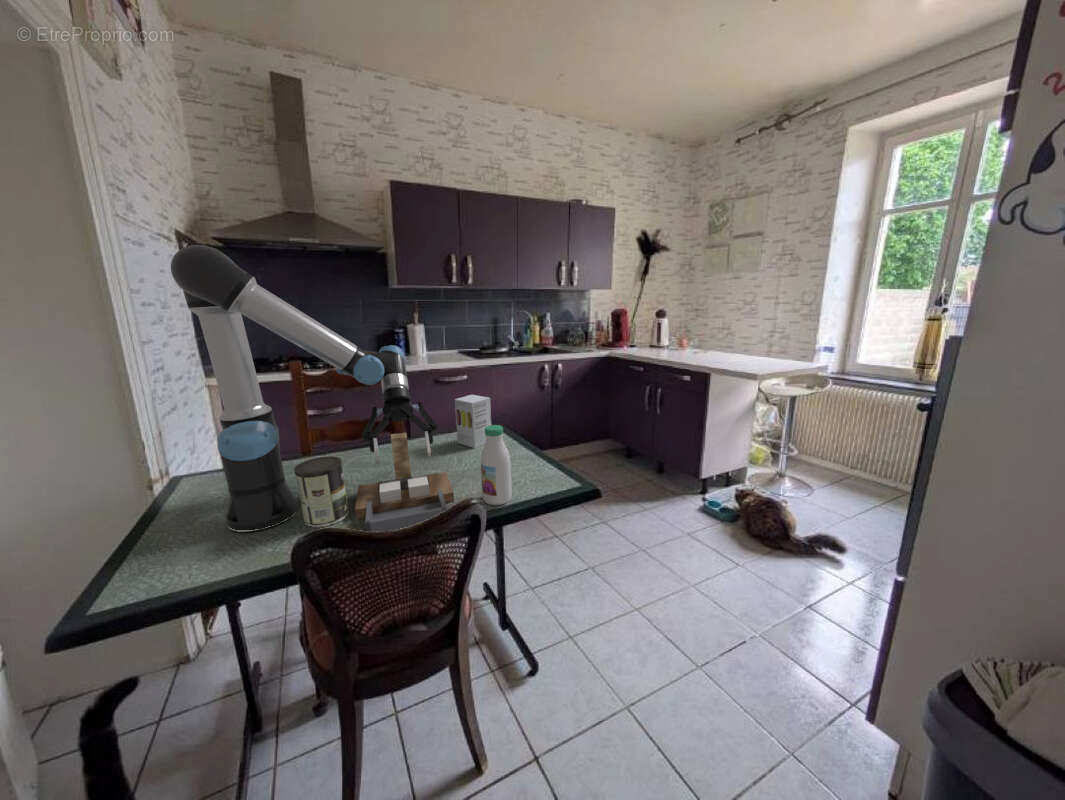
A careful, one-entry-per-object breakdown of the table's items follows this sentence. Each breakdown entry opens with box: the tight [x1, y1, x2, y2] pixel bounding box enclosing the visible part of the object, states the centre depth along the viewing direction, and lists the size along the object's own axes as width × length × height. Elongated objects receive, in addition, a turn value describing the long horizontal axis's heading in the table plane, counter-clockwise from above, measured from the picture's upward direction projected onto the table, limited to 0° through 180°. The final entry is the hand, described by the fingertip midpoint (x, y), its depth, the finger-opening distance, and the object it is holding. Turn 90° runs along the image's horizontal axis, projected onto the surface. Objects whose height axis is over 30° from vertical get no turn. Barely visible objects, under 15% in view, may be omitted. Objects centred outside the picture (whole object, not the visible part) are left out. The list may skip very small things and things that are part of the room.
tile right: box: [408, 477, 430, 498], centre depth 108 cm, size 5×5×3 cm
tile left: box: [379, 481, 402, 503], centre depth 106 cm, size 5×5×3 cm
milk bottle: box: [480, 424, 513, 506], centre depth 106 cm, size 8×8×20 cm
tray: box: [364, 489, 448, 531], centre depth 99 cm, size 18×11×4 cm, turn 109°
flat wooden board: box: [354, 471, 455, 520], centre depth 111 cm, size 24×14×2 cm, turn 109°
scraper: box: [377, 432, 429, 491], centre depth 111 cm, size 13×6×14 cm, turn 109°
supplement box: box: [454, 394, 492, 449], centre depth 149 cm, size 10×9×17 cm
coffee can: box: [293, 456, 350, 528], centre depth 101 cm, size 10×10×14 cm
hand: (403, 458), depth 111 cm, fingers open, 13 cm apart
